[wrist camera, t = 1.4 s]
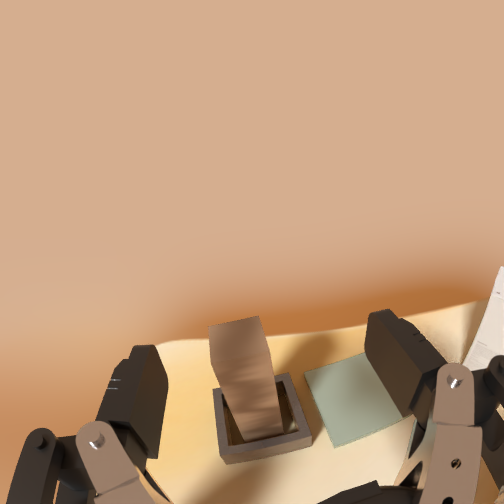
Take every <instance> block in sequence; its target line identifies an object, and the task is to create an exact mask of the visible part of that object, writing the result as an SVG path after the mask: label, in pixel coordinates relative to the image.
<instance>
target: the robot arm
mask: <svg viewBox="0 0 504 504" xmlns="http://www.w3.org/2000/svg"><path fill="white" fill-rule="evenodd" d="M364 348H365V354H366V357H367V359H368V361H369V362H370V364H371V365H372V367H373V369H374V370H375V372H376V374H377V375H378V377H379V379H380V380H381V382H382V383H383V385H384V387H385V388H386V390H387V392H388V393H389V395H390V397H391V399H392V400H393V402H394V404H395V405H396V407H397V409H398V410H399V412H400V414H401V416H402V417H403V418H404V417H407V416H409V415H411V414H414V415H415V417H416V419H415V421H414V424H413V429H412V433H411V437H410V441H409V445H408V449H407V453H406V456H405V460H404V463H403V465H402V468H401V470H400V471H399V473H398V475H397V477H396V480H395V482H394V485H393V486H379V485H378V483H377V480H375V481H372V482H369V483H367V484H364V485H361V486H358V487H355V488H352V489H349V490H345V491H342V492H340V493H338V494H336V495H334V496H332V497H330V498H328V499H326V500H324V501H322V502H320V503H318V504H473V503H474V498H475V493H476V488H477V482H478V475H479V468H480V459H481V455H482V457H483V459H484V461H485V463H486V465H487V467H488V469H489V471H490V473H491V475H492V477H493V479H494V481H495V483H496V485H497V487H498V489H499V495H498V498H497V499H496V500H495V502H494V504H504V420H503V419H502V418H501V416H500V415H499V413H498V412H497V410H496V409H497V408H498V406H499V405H500V404H501V405H502V406H503V408H504V355H497V356H494V357H493V358H492V359H491V360H490V362H489V364H488V366H487V368H484V369H479V370H474V371H470V370H469V369H468V368H467V367H466V366H464V365H462V364H459V363H447V361H446V360H445V359H444V358H443V357H442V356H441V355H440V353H439V352H438V351H437V350H436V349H435V348H434V347H433V346H432V344H431V343H430V342H429V341H428V340H426V338H425V337H424V336H423V335H422V334H420V331H419V330H418V329H417V328H416V327H415V326H414V325H413V324H412V323H410V322H408V321H406V320H404V319H403V318H400V319H398V317H397V316H396V315H395V314H394V313H393V312H392V311H391V310H390V309H385V310H381V311H376V312H372V313H370V314H369V317H368V324H367V331H366V337H365V344H364ZM167 393H168V377H167V374H166V371H165V369H164V366H163V364H162V362H161V359H160V357H159V354H158V351H157V349H156V347H155V346H154V345H136V346H134V347H133V348H132V351H131V353H130V356H129V359H123V360H122V361H121V362H120V363H119V365H118V366H117V367H116V368H115V369H114V372H113V374H112V377H111V381H110V382H109V384H108V389H106V392H105V395H104V397H103V400H102V403H101V406H100V408H99V411H98V415H97V417H96V420H95V421H93V422H90V423H87V424H85V425H84V426H83V427H82V428H81V429H80V430H79V431H78V433H77V435H74V436H66V437H56V436H55V435H54V434H53V433H52V431H50V430H49V429H46V428H38V429H35V430H34V431H32V432H31V433H30V434H29V435H28V437H27V439H26V441H25V444H24V446H23V449H22V452H21V455H20V458H19V460H18V463H17V466H16V470H15V473H14V476H13V480H12V483H11V487H10V490H9V494H8V498H7V502H6V504H53V499H54V494H55V489H56V484H57V480H58V481H60V483H59V487H58V492H57V497H56V503H55V504H174V503H173V502H172V501H171V500H170V498H169V497H168V496H167V495H166V493H165V492H164V491H163V489H162V488H161V487H160V485H159V484H158V483H157V481H156V480H155V479H154V477H153V476H152V475H151V473H150V472H149V470H148V469H147V468H146V461H147V458H151V459H158V452H159V445H160V438H161V431H162V424H163V418H164V411H165V405H166V399H167ZM96 493H97V496H96Z"/></svg>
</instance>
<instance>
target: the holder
mask: <svg viewBox="0 0 504 504" xmlns="http://www.w3.org/2000/svg"><path fill="white" fill-rule="evenodd" d="M274 379H275V385H276V390H277V396H278V395H282V394H285V397H286V400H287V403H288V406H289V409H290V412H291V415H292V418H293V421H294V424H295V427H296V430H297V432H294V433H291V434H287V435H283V436H279V437H275V438H270V439H266V440H261V441H256V442H251V443H246V444H240V445H234V446H233V445H232V438H231V432H230V425H229V418H228V411H227V406H228V404H227V401H226V399H225V397H224V394H223V392H222V389H221V388H216V389H213V398H214V408H215V418H216V427H217V436H218V445H219V453H220V456H221V458H222V459H223V460H224V462H225V463H226V464H234V463H240V462H246V461H252V460H257V459H262V458H267V457H272V456H276V455H280V454H284V453H288V452H292V451H296V450H300V449H303V448H307V447H310V446H311V445H312V435H311V432H310V430H309V427H308V424H307V421H306V419H305V416H304V413H303V410H302V408H301V405H300V402H299V399H298V397H297V394H296V391H295V388H294V386H293V383H292V380H291V377H290V375H289V373H285V374H281V375H277V376H274Z"/></svg>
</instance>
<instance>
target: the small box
mask: <svg viewBox="0 0 504 504" xmlns="http://www.w3.org/2000/svg"><path fill="white" fill-rule="evenodd" d="M497 355H504V267H503V266H501V267H500V269H499V272H498V275H497V277H496V280H495V283H494V287H493V290H492V293H491V296H490V299H489V301H488V304H487V307H486V310H485V313H484V316H483V318H482V321H481V323H480V326H479V328H478V331H477V333H476V336H475V338H474V340H473V342H472V345H471V347H470V349H469V351H468V353H467V355H466V357H465V359H464V361H463V363H462V365H464V366H466V367H467V368H468V369H469V370H470V371H474V370H479V369H484V368H487V366H488V364H489V362H490V360H491V359H492V358H493V357H494V356H497Z"/></svg>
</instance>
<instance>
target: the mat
mask: <svg viewBox="0 0 504 504" xmlns="http://www.w3.org/2000/svg"><path fill="white" fill-rule="evenodd" d="M304 376H305V378H306V381H307V383H308V386H309V388H310V391H311V393H312V395H313V398H314V400H315V403H316V405H317V408H318V410H319V412H320V415H321V417H322V420H323V422H324V425H325V427H326V429H327V432H328V434H329V437H330V439H331V442H332V444H333V447H334V448H337V447H340V446H343V445H345V444H348V443H351V442H353V441H356V440H358V439H361V438H363V437H366V436H368V435H370V434H373V433H375V432H377V431H380V430H382V429H384V428H386V427H388V426H390V425H392V424H394V423H397V422H399V421H401V420H403V419H404V418H406V417H404V418H403V417H402V416H401V414H400V412H399V410H398V409H397V407H396V405H395V404H394V402H393V400H392V399H391V397H390V395H389V393H388V392H387V390H386V388H385V387H384V385H383V383H382V382H381V380H380V379H379V377H378V375H377V374H376V372H375V370H374V369H373V367H372V365H371V364H370V362H369V361H368V359H367V357H366V354H365V352H364V353H362V354H359V355H356V356H353V357H350V358H347V359H345V360H342V361H339V362H336V363H333V364H329V365H326V366H323V367H320V368H317V369H313V370H310V371H306V372H304ZM409 416H410V415H409ZM407 417H408V416H407Z"/></svg>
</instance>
